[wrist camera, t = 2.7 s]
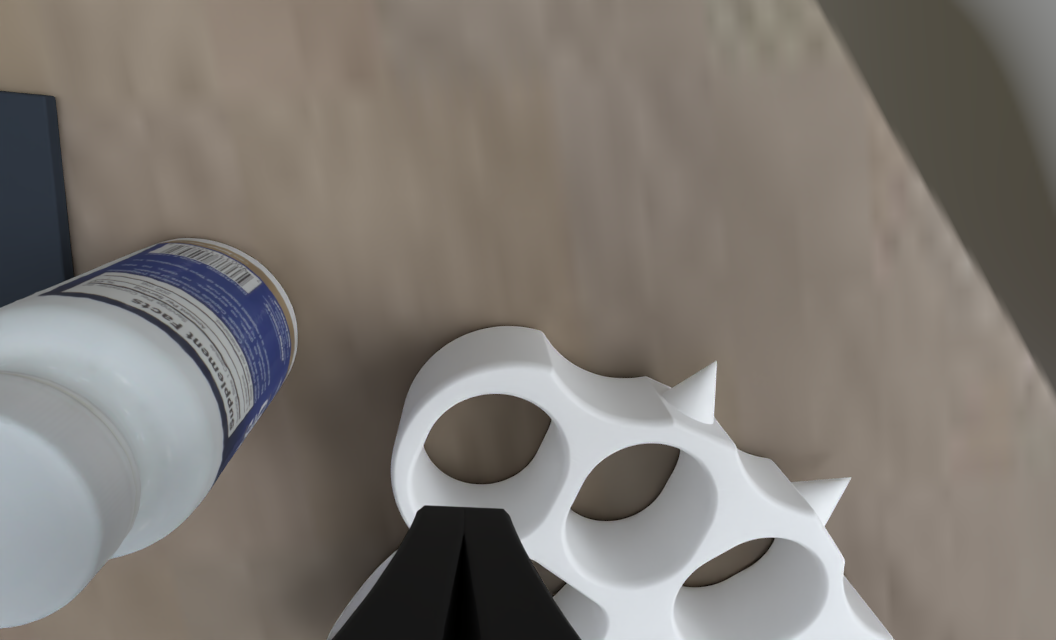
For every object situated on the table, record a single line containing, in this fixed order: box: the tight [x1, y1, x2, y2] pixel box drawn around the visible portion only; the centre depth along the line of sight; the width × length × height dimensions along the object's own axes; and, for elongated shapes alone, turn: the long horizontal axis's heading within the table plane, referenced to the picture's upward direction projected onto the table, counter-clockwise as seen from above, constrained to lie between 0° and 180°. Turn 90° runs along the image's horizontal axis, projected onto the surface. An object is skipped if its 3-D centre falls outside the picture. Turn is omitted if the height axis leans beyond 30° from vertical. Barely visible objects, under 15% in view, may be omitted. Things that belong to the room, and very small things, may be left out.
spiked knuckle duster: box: [327, 326, 894, 640], centre depth 21 cm, size 3×18×15 cm
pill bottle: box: [0, 238, 298, 629], centre depth 15 cm, size 5×5×10 cm
